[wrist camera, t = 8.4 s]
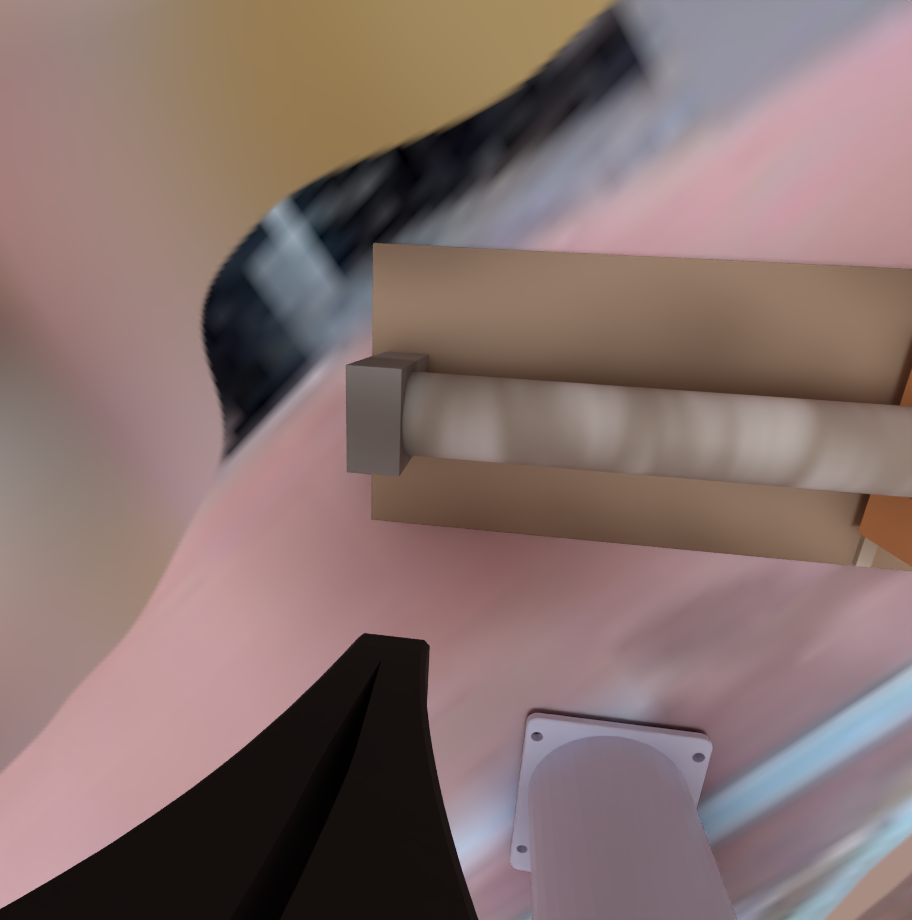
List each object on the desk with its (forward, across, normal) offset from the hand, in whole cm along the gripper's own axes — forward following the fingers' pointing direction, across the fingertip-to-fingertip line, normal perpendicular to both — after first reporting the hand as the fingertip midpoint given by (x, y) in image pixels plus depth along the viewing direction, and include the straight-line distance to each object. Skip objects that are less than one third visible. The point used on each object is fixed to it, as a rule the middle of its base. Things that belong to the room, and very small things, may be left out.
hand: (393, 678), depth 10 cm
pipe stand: (+10, -10, -4) cm, 15 cm away
